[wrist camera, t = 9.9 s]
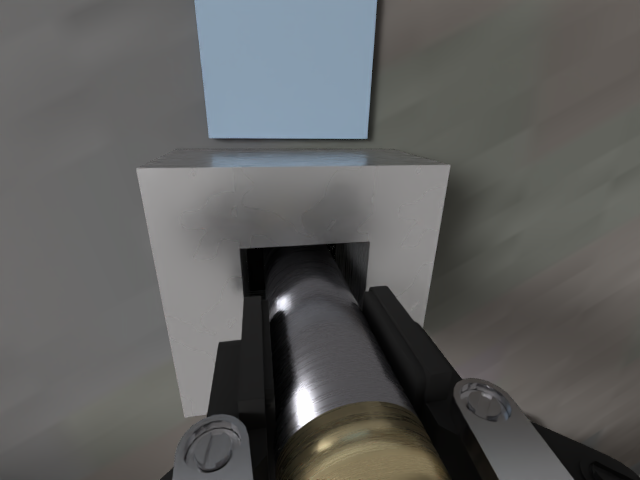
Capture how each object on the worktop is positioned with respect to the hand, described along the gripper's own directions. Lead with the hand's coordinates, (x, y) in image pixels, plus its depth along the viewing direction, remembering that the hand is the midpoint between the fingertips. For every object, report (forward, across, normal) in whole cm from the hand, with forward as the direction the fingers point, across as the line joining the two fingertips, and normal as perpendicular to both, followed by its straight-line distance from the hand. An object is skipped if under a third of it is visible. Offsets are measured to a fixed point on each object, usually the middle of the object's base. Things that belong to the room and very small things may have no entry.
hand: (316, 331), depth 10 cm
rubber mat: (+7, 0, -9) cm, 11 cm away
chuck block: (+7, 0, 0) cm, 7 cm away
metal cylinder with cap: (+6, 0, 0) cm, 6 cm away
